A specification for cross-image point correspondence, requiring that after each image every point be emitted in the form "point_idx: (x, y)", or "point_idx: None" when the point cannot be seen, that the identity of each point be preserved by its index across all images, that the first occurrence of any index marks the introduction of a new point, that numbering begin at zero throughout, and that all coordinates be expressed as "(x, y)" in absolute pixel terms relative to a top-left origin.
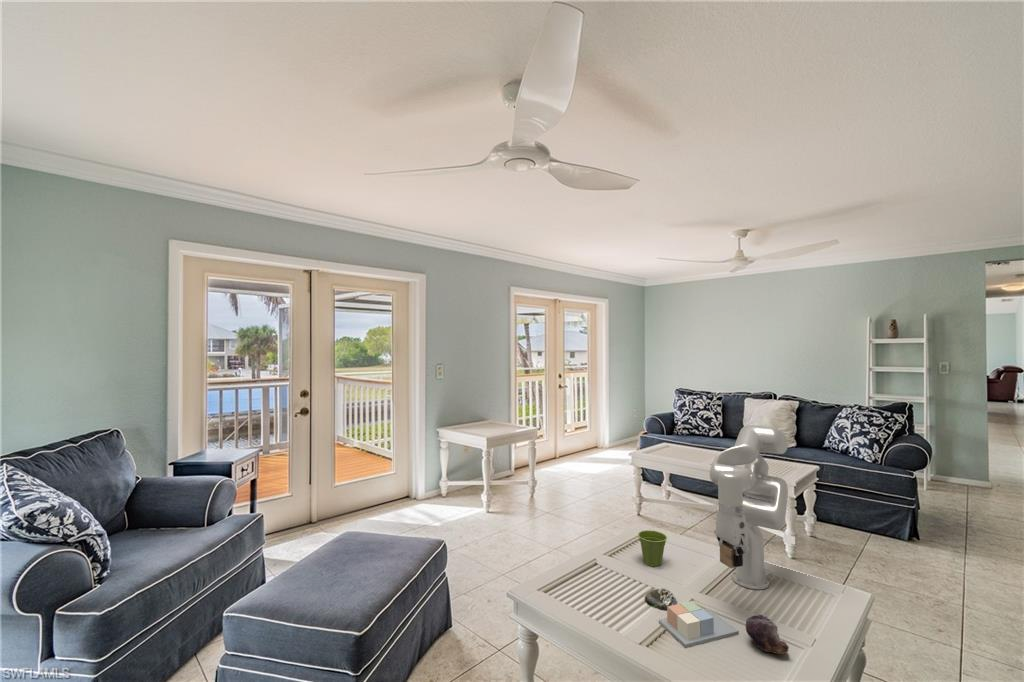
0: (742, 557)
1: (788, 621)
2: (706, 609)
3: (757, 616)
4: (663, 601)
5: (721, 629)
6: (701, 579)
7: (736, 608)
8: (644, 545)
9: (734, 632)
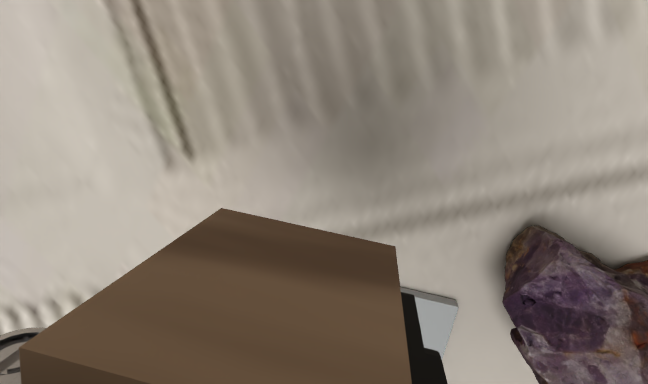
0: (399, 309)
1: (544, 7)
2: None
3: (558, 303)
4: None
5: None
6: (84, 58)
7: (334, 138)
8: None
9: (452, 324)
